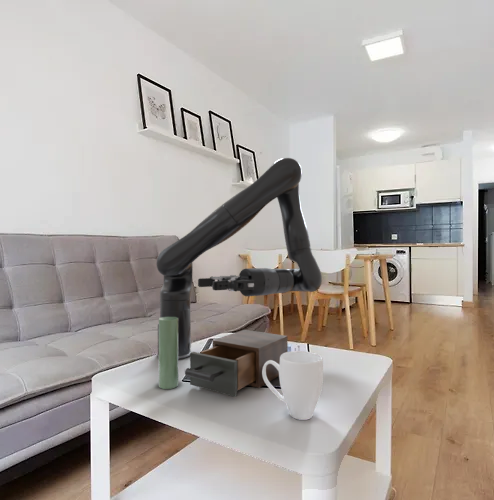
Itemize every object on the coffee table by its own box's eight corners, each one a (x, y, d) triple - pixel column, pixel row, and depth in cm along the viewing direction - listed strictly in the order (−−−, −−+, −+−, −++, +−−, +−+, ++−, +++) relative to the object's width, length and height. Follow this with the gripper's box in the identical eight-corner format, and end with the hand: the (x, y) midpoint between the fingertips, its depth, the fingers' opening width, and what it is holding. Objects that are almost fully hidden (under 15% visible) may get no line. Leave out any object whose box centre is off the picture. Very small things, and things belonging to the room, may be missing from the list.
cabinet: (259, 388, 85) (259, 348, 85) (212, 376, 92) (212, 340, 92) (287, 370, 97) (287, 335, 97) (244, 361, 105) (244, 329, 105)
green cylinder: (154, 386, 86) (154, 318, 86) (168, 380, 90) (168, 315, 90) (168, 390, 83) (168, 320, 83) (182, 384, 87) (182, 317, 87)
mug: (325, 409, 73) (325, 353, 73) (319, 428, 66) (319, 365, 66) (268, 400, 78) (268, 347, 78) (256, 417, 70) (256, 358, 70)
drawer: (220, 404, 73) (220, 368, 73) (175, 391, 80) (175, 357, 80) (266, 378, 89) (266, 347, 89) (224, 368, 96) (224, 340, 96)
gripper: (245, 267, 106) (194, 268, 98) (274, 269, 94) (218, 271, 85) (245, 292, 106) (193, 295, 98) (274, 298, 94) (218, 302, 86)
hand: (205, 284), depth 92 cm, fingers open, 8 cm apart
